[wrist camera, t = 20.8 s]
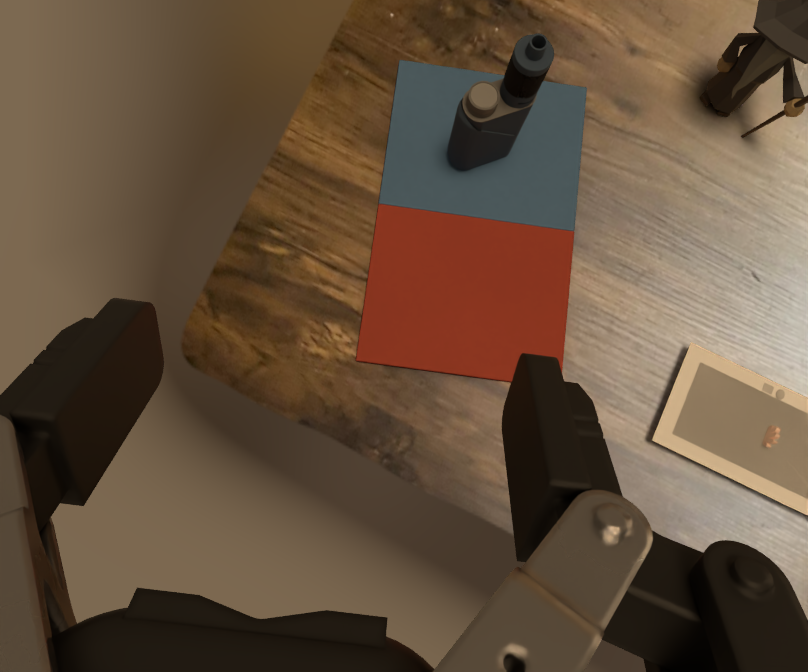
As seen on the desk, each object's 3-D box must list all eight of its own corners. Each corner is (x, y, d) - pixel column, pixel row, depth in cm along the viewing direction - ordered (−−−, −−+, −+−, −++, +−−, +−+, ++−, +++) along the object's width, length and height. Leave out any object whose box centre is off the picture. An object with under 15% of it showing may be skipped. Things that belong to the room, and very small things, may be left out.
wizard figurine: (670, 102, 45) (774, -12, 33) (707, 52, 46) (821, -75, 34) (756, 162, 45) (892, 69, 33) (791, 111, 46) (936, 2, 34)
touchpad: (833, 531, 41) (859, 537, 39) (644, 439, 41) (659, 440, 39) (866, 432, 42) (893, 432, 40) (683, 344, 42) (699, 340, 40)
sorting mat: (355, 361, 41) (355, 360, 41) (399, 63, 45) (399, 59, 44) (558, 388, 41) (560, 388, 41) (584, 90, 45) (587, 87, 45)
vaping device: (516, 155, 43) (568, 55, 32) (453, 176, 43) (481, 83, 31) (503, 125, 44) (550, 15, 32) (441, 147, 43) (464, 43, 31)
